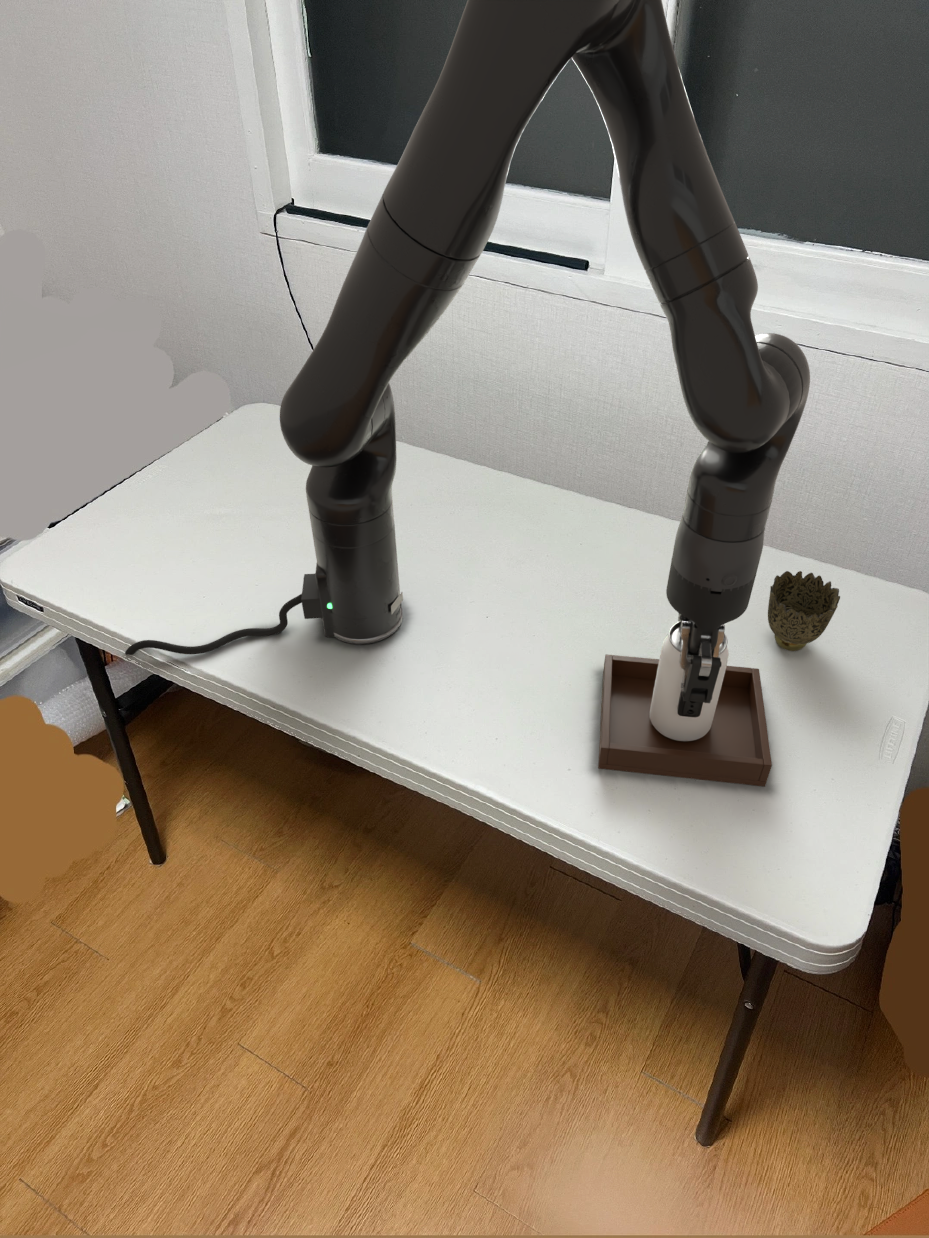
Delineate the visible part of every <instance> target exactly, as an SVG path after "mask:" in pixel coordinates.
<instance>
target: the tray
mask: <svg viewBox="0 0 929 1238" xmlns="http://www.w3.org/2000/svg"><path fill="white" fill-rule="evenodd" d="M659 659H660V658H650V657H649V658H648V657H639V656H629V655H628V656H627V655H619V654H618V655H617V654H607V653H606V654H605V655H604V661H603V669H602V681H601V682H602V684H601V701H600V702H601V703H600V719H599V720H600V721H599V726H600V727H599V740H598V741H599V743H598V744H599V745H598V763H597V768H598V769H599V770H600V769H601V770H607V771H608V770H609V771H618V772H627V773H637V774H645V775H654V776H663V777H673V778H680V779H681V778H682V779H691V780H699V781H700V780H701V781H708V782H709V781H710V782H717V783H718V782H719V783H726V784H727V783H728V784H735V785H736V784H738V785H745V786H755V787H766V785H767V783H768V780H769V777H770V773H771V771H772V768H773V762H772V755H771V748H770V740H769V733H768V732H769V731H768V726H767V725H768V724H767V719H766V711H765V710H766V709H765V703H764V697H763V695H764V694H763V689H762V680H761V673H760V669H759V668H755V667H745V666H736V665H727V666H726V670H725V674H724V678H723V682H722V686H721V690H720V694H719V698H718V702H717V706H716V710H715V714H714V718H713V721H712V725H711V728H710V730H709V731H708V733H707V734H706V735H704V736H703V737H701V738H699V739H697V740H693V741H686V742H683V741H676V740H672V739H669V738H667V737H665V736H664V735H662V734H661V733H660V732H658V731H657V730H656V729H655V727H654V726H653V724H652V723H651V720H650V708H651V702H652V696H653V691H654V685H655V680H656V675H657V669H658V664H659Z"/></svg>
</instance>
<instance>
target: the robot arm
mask: <svg viewBox="0 0 929 1238" xmlns="http://www.w3.org/2000/svg"><path fill="white" fill-rule="evenodd" d="M570 60H572V61H573V62H574V64H575V65H576V67H577V69H578V70H579V72H580V74H581V75H582V77H583V79H584V80H585V82H586V84H587V85H588V87H589V89H590V91H591V93H592V95H593V98H594V99H595V101H596V104H597V106H598V108H599V111H600V114H601V116H602V118H603V121H604V125H605V127H606V129H607V133H608V136H609V140H610V142H611V147H612V152H613V156H614V159H615V160H614V161H615V165H616V169H617V174H618V181H619V186H620V190H621V191H620V192H621V196H622V203H623V208H624V212H625V217H626V220H627V225H628V229H629V232H630V236H631V238H632V242H633V246H634V248H635V250H636V253H637V255H638V258H639V261H640V263H641V266H642V267H643V270H644V271H645V275H646V276H647V278H648V281H649V283H650V285H651V287H652V290H653V292H654V294H655V296H656V299H657V302H658V303H659V306H660V307H661V310H662V312H663V314H664V316H665V317H666V320H667V323H668V327H669V332H670V339H671V345H672V347H671V348H672V352H673V357H674V361H675V366H676V372H677V375H678V381H679V385H680V390H681V394H682V398H683V402H684V404H685V407H686V410H687V413H688V415H689V417H690V419H691V421H692V423H693V424H694V426H695V427H696V429H697V430H698V432H699V433H700V434H701V436H702V437H703V438H704V439H706V440H707V443H706V445H705V446H704V448H703V450H702V451H701V453H700V454H699V455H698V457H697V458H696V460H695V462H694V463H693V467H692V469H691V471H690V475H689V479H688V483H687V489H686V495H685V501H684V504H683V505H684V506H683V512H682V515H681V519H680V522H679V524H678V526H677V530H676V534H675V539H674V545H673V549H672V556H671V561H670V567H669V573H668V579H667V583H666V589H665V591H666V592H665V594H666V599H667V601H668V603H669V605H670V606H671V607H672V609H673V610H675V611H676V612H677V613H678V619H677V622H679V625H680V626H681V628H680V636H681V639H682V642H681V653H680V659H679V663H680V666H681V668H682V669H683V670H684V671H683V679H682V683H681V693H680V697H679V702H678V707H677V712H678V715H680V716H685V717H699V716H700V713H701V709H702V705H703V702H704V703H710V702H711V700H712V695H713V691H714V687H715V684H716V680H717V677H718V673H719V670H720V667H721V664H722V662H721V660H720V658H719V650H720V644H721V643H722V642H723V640H724V633H725V631H726V625H725V624H728V623H730V622H732V621H735V620H737V619H739V618H740V617H741V616H742V615H743V614H744V613H745V612H746V611H747V609H748V607H749V604H750V601H751V600H750V599H751V596H752V592H753V588H754V585H755V580H756V577H757V573H758V568H759V566H760V561H761V558H762V553H763V549H764V541H765V531H766V526H767V522H768V518H769V514H770V510H771V507H772V503H773V499H774V493H775V488H776V487H775V486H776V482H777V479H778V476H779V473H780V470H781V468H782V465H783V462H784V460H785V458H786V456H787V455H788V452H789V450H790V447H791V445H792V441H793V439H794V437H795V434H796V432H797V429H798V427H799V424H800V422H801V419H802V416H803V413H804V411H805V408H806V405H807V401H808V397H809V393H810V387H811V371H810V365H809V362H808V359H807V357H806V354H805V353H804V351H803V350H802V348H801V347H800V346H799V345H798V344H797V343H796V342H795V341H794V340H793V339H791V338H789V337H788V336H785V335H783V334H780V333H775V332H774V333H772V332H766V333H764V332H763V333H758V334H755V330H754V326H753V322H752V318H751V317H752V315H751V314H752V308H753V306H754V302H755V300H756V298H757V295H758V292H759V291H758V290H759V284H758V278H757V275H756V271H755V268H754V266H753V263H752V260H751V258H750V256H749V253H748V250H747V247H746V245H745V243H744V240H743V237H742V235H741V233H740V231H739V228H738V226H737V223H736V222H735V219H734V217H733V213H732V212H731V209H730V207H729V205H728V202H727V200H726V198H725V196H724V195H725V194H724V192H723V190H722V187H721V185H720V183H719V180H718V177H717V175H716V173H715V170H714V167H713V165H712V162H711V160H710V157H709V155H708V152H707V148H706V146H705V144H704V141H703V139H702V136H701V133H700V130H699V127H698V124H697V122H696V118H695V115H694V112H693V110H692V107H691V104H690V99H689V97H688V93H687V91H686V87H685V85H684V81H683V78H682V73H681V70H680V68H679V64H678V60H677V56H676V53H675V50H674V46H673V42H672V37H671V34H670V31H669V26H668V21H667V18H666V13H665V9H664V5H663V0H467V1H466V4H465V6H464V8H463V12H462V14H461V18H460V20H459V23H458V25H457V29H456V32H455V35H454V37H453V40H452V43H451V46H450V49H449V51H448V54H447V56H446V59H445V62H444V65H443V67H442V69H441V72H440V74H439V77H438V79H437V82H436V84H435V86H434V88H433V90H432V92H431V94H430V96H429V98H428V100H427V102H426V104H425V106H424V107H423V110H422V112H421V114H420V116H419V118H418V120H417V123H416V124H415V126H414V128H413V131H412V133H411V134H410V137H409V139H408V142H407V144H406V145H405V148H404V150H403V152H402V155H401V157H400V159H399V161H398V163H397V164H396V167H395V168H394V170H393V172H392V174H391V176H390V177H389V180H388V182H387V183H386V186H385V188H384V189H383V193H382V194H381V196H380V198H379V201H378V203H377V205H376V207H375V209H374V211H373V214H372V216H371V218H370V221H369V222H368V224H367V226H366V229H365V232H364V233H363V236H362V239H361V241H360V244H359V246H358V249H357V251H356V253H355V256H354V257H353V260H352V263H351V265H350V268H349V269H348V271H347V274H346V276H345V278H344V281H343V283H342V285H341V287H340V291H339V293H338V296H337V299H336V301H335V304H334V305H333V309H332V311H331V314H330V317H329V319H328V321H327V324H326V326H325V328H324V329H323V332H322V334H321V336H320V338H319V339H318V341H317V343H316V345H315V346H314V348H313V349H312V351H311V353H310V355H309V356H308V358H307V359H306V361H305V362H304V364H303V366H302V367H301V369H300V371H299V372H298V374H297V375H296V376H295V378H294V379H293V381H292V383H291V384H290V385H289V387H288V388H287V390H286V391H285V393H284V395H283V397H282V400H281V403H280V407H279V426H280V431H281V433H282V437H283V440H284V441H285V443H286V446H287V447H288V449H289V450H290V451H291V452H292V454H293V455H294V456H295V457H296V458H298V459H299V460H300V461H301V462H302V463H305V464H307V465H310V466H311V468H310V470H309V473H308V476H307V478H306V481H305V495H306V496H305V497H306V502H307V509H308V515H309V520H310V527H311V533H312V539H313V546H314V552H315V553H314V554H315V558H316V559H315V560H316V563H315V564H316V565H315V573H304V574H303V580H302V581H303V582H302V590H301V593H300V594H298V595H297V596H295V597H293V598H291V599H290V600H288V601H287V602H285V603H284V604H283V605H282V606H281V608H280V609H279V612H278V619H279V623H278V624H276V626H273V627H268V628H267V627H265V628H264V627H263V628H262V627H259V628H258V627H252V628H251V627H250V628H241V629H239V630H236V631H233V632H231V633H228V634H226V635H224V636H221V637H220V638H218V639H216V640H214V641H212V642H208V643H205V644H202V645H195V646H188V645H181V644H174V643H170V642H165V641H160V640H155V639H143V640H139V641H137V642H134V643H133V644H131V645H130V646H129V647H128V648H126V650H125V652H124V654H126V655H127V656H130V655H131V656H132V655H133V654H135V653H137V651H139V650H142V649H146V648H147V649H157V650H162V651H165V652H170V653H174V654H180V655H201V654H205V653H206V654H207V653H210V652H213V651H215V650H217V649H219V648H221V647H224V646H225V645H227V644H229V643H231V642H233V641H236V640H238V639H242V638H245V637H246V638H247V637H266V636H274V635H278V634H280V633H282V632H283V631H285V629H286V628H287V626H288V623H289V621H288V613H289V611H290V610H292V609H293V608H295V607H296V606H299V605H300V604H301V606H302V612H303V618H304V619H305V620H313V619H314V620H315V619H322V626H323V632H324V637H326V638H335V639H337V640H339V641H341V642H343V643H348V644H352V645H367V644H368V645H369V644H372V643H377V642H380V641H383V640H386V639H387V638H388V637H390V636H392V635H393V634H394V633H395V632H397V630H398V629H399V628H400V626H401V625H402V622H403V617H404V616H403V607H402V602H403V600H404V596H403V591H401V588H400V587H401V586H400V575H399V574H400V573H399V563H398V551H397V549H398V548H397V536H396V527H395V526H396V525H395V513H394V501H393V484H394V480H395V477H396V471H397V461H398V460H397V459H398V458H397V428H396V427H397V426H396V425H397V423H396V408H395V407H396V406H395V400H394V393H393V391H392V387H391V383H390V382H391V380H392V378H393V377H394V375H395V374H396V372H397V371H398V370H399V368H400V367H401V365H402V364H404V362H405V361H406V359H407V358H408V357H409V356H410V355H411V353H412V352H414V350H415V349H416V348H417V346H418V345H419V344H420V343H421V342H422V340H423V339H424V338H425V337H426V335H427V334H428V333H429V332H430V331H431V329H433V327H434V326H435V324H436V323H437V322H438V321H439V320H440V318H441V317H442V315H443V314H444V313H445V311H447V309H448V307H449V306H450V305H451V304H452V302H453V300H454V299H455V297H456V296H457V295H458V293H459V291H460V290H461V288H462V287H463V285H464V284H465V282H466V280H467V279H468V277H469V275H470V274H471V272H472V271H473V268H474V266H475V265H476V264H477V261H478V260H479V258H480V257H481V255H482V253H483V251H484V250H485V248H486V246H487V243H488V242H489V239H490V238H491V235H492V233H493V231H494V229H495V226H496V224H497V220H498V218H499V213H500V210H501V206H502V202H503V197H504V193H505V187H506V183H507V178H508V174H509V170H510V166H511V162H512V159H513V156H514V153H515V150H516V147H517V145H518V143H519V141H520V139H521V136H522V134H523V133H524V131H525V129H526V127H527V125H528V124H529V121H530V120H531V118H532V117H533V115H534V113H535V112H536V110H537V109H538V107H539V105H540V104H541V102H542V101H543V99H544V97H545V96H546V95H547V93H548V91H549V90H550V88H551V87H552V85H553V84H554V82H555V81H556V79H557V78H558V77H559V75H560V74H561V72H562V71H563V70H564V68H565V67H566V65H567V64H568V63H569V61H570ZM725 634H726V633H725ZM687 651H689V653H691V654H694V655H692V658H691V659H690V660H689V659H687ZM711 651H712V653H711ZM697 655H699V656H697Z"/></svg>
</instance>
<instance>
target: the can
mask: <svg viewBox="0 0 929 1238" xmlns="http://www.w3.org/2000/svg"><path fill="white" fill-rule="evenodd" d="M680 628H681V626H680V625H679V622H678V621H677V622H675V623H674V624H673V625H672V626H671V627H670V629H669V631H668V633H667V635H666V636H665V638H663V642H662V645H661V648H660V649H661V650H660V655H659V658H658V659H659V664H658V669H657V675H656V680H655V685H654V691H653V696H652V702H651V708H650V720H651V723H652V724H653V726H654V727H655V729H656V730H657V731H658V732H660V733H661V734H662V735H664V736H665V737H667V738H669V739H672V740H676V741H683V742H686V741H693V740H697V739H699V738H701V737H703V736H704V735H706V734H707V733H708V731H709V730H710V728H711V725H712V721H713V718H714V714H715V710H716V706H717V702H718V698H719V694H720V690H721V686H722V682H723V678H724V674H725V670H726V666H728V661H729V657H730V656H729V655H730V653H729V648H728V637H727V635H726V633H724V640H723V642H722V643H721V644H720V650H719V658H720V660H721V662H722V664H721V667H720V670H719V673H718V677H717V680H716V684H715V687H714V691H713V695H712V700H711V702H710V703H704V702H703V705H702V709H701V713H700V716H699V717H685V716H680V715H678V712H677V707H678V702H679V697H680V693H681V683H682V679H683V671H684V670H683V669H682V668H681V666H680V663H679V659H680V653H681V642H682V639H681V636H680ZM711 653H712V651H711ZM692 655H694V654H691V653H689V651H687V659H689V660H690V659H691V658H692ZM697 656H699V655H697Z"/></svg>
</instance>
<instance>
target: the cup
mask: <svg viewBox="0 0 929 1238" xmlns="http://www.w3.org/2000/svg"><path fill="white" fill-rule="evenodd" d="M824 583H825V584H824ZM769 589H770V590H769V597H768V605H767V606H768V607H767V622H768V626H769V628H770V630H771V632H772V633H773V635H774V641H775V643H776V644H777V646H778V647H780V648H781V649H783V650H785V651H789V652H798V651H801V650H802V649H804V648H805V647H806V646H807V644H809V643H812V642H814V641H816V640H817V639H818V638H820V637H821V636H822V634H823V633H824V632H825V630H826V629H827V628H828V625H829V624H830V622H831V620H832V618H833V616H834V614H835V612H836V610H837V608H838V604H839V603H840V600H841V595H839V594H840V589H839V588H838V587H832V581H831V580H829V581H828V582H827V581H826V582H824V580H823V578H822V576H821V575H817V576H815V575H814V573H813V572H809V573H807V574H806V575H805V576H803V571H801V570H799V571H797V572H796V573H795V574H793V573H792V572H791V571H789V570H786V571H784V572H782V574H781V575H777V574H776V575H775V577H774V579H773V584H772V585H770V588H769Z"/></svg>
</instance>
